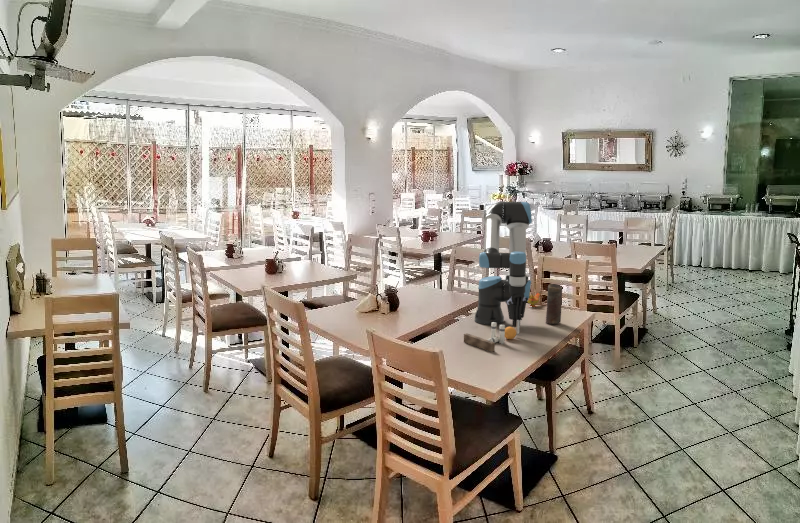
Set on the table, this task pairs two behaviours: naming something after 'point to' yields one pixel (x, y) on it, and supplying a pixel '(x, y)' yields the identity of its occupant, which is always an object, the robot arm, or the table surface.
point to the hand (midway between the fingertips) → (516, 333)
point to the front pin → (494, 339)
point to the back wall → (479, 342)
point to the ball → (510, 332)
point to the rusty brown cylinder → (554, 304)
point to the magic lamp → (534, 299)
